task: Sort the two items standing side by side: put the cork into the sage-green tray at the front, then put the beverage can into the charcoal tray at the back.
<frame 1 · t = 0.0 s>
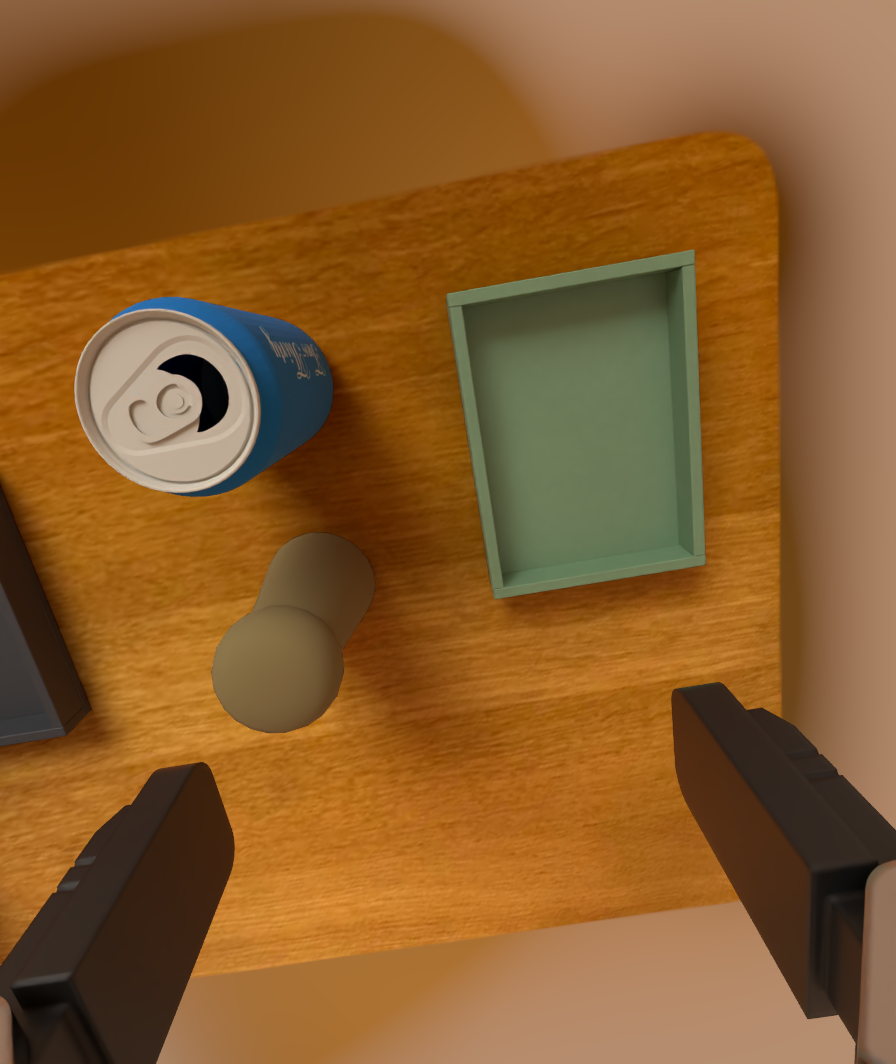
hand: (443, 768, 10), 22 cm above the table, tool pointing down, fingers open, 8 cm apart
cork: (322, 581, 33), on the table
beverage can: (273, 385, 29), on the table
green tray: (574, 433, 30), on the table
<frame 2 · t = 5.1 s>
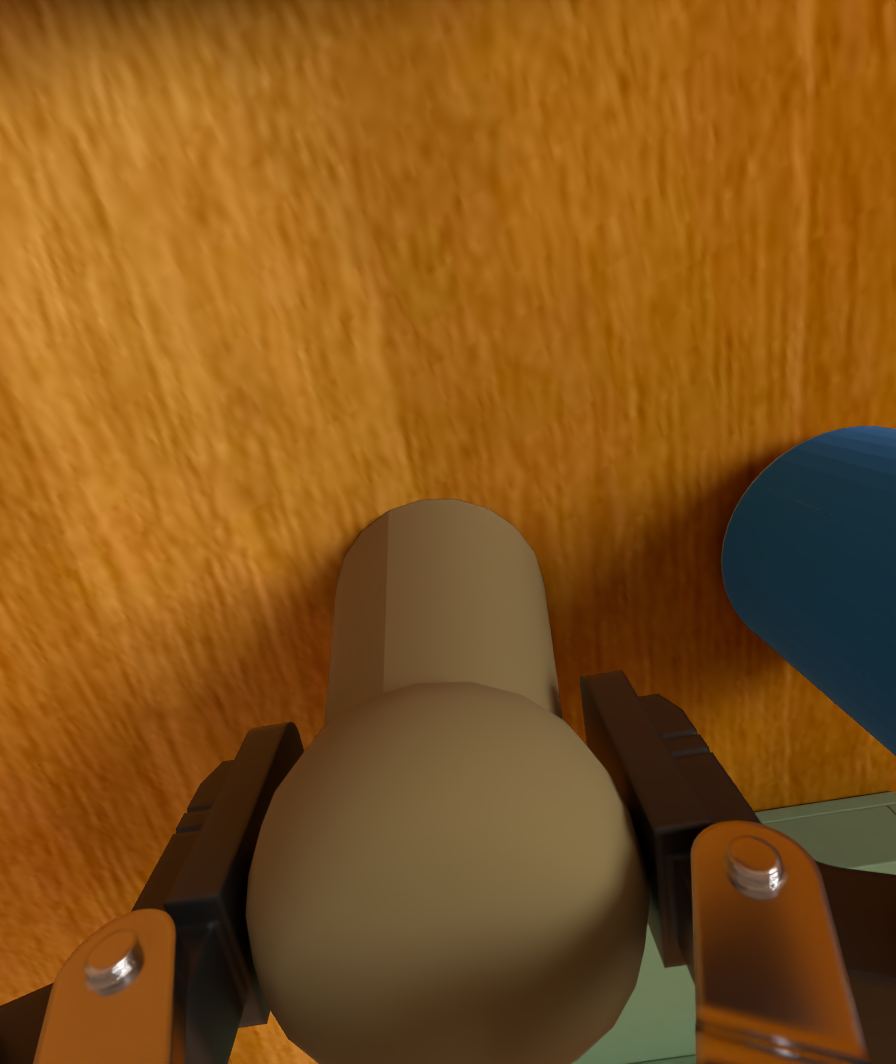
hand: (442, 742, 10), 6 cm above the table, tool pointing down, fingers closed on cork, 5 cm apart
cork: (440, 596, 17), on the table, touching gripper
beverage can: (817, 535, 17), on the table
green tray: (672, 946, 21), on the table
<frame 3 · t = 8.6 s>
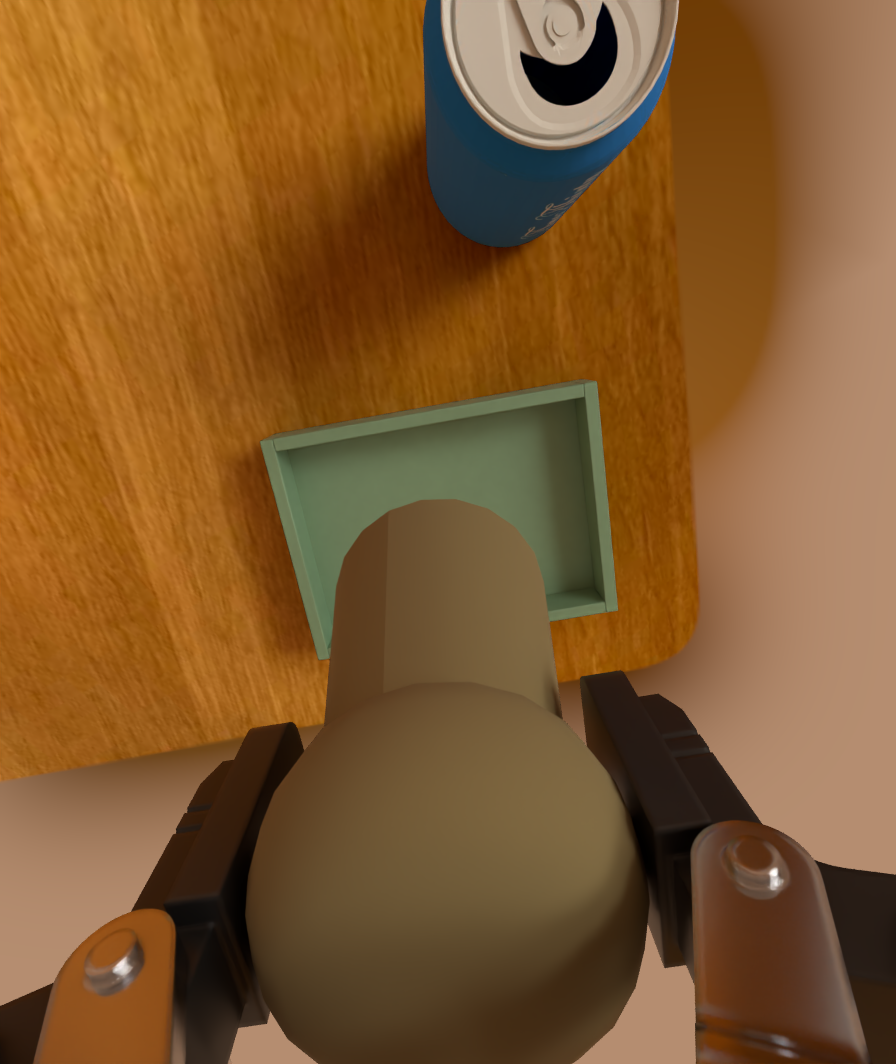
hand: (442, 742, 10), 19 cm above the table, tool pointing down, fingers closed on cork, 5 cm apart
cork: (440, 596, 17), point 13 cm above the table, touching gripper
beverage can: (501, 169, 25), on the table
green tray: (446, 516, 29), on the table
when the fingers open (7 cm above the table, at t = 11.9 s): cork stays where it is, resting on green tray.
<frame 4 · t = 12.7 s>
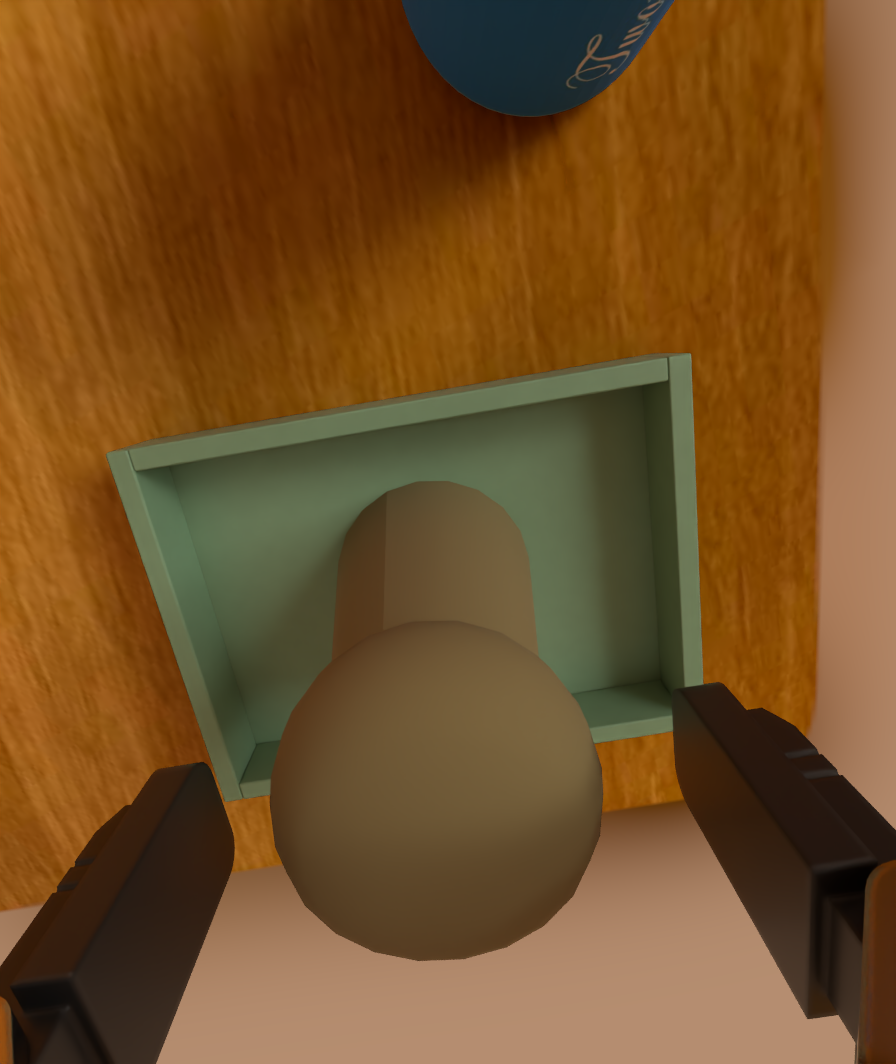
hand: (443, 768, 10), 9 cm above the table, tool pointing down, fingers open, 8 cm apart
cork: (434, 571, 18), resting on green tray
green tray: (432, 571, 19), on the table
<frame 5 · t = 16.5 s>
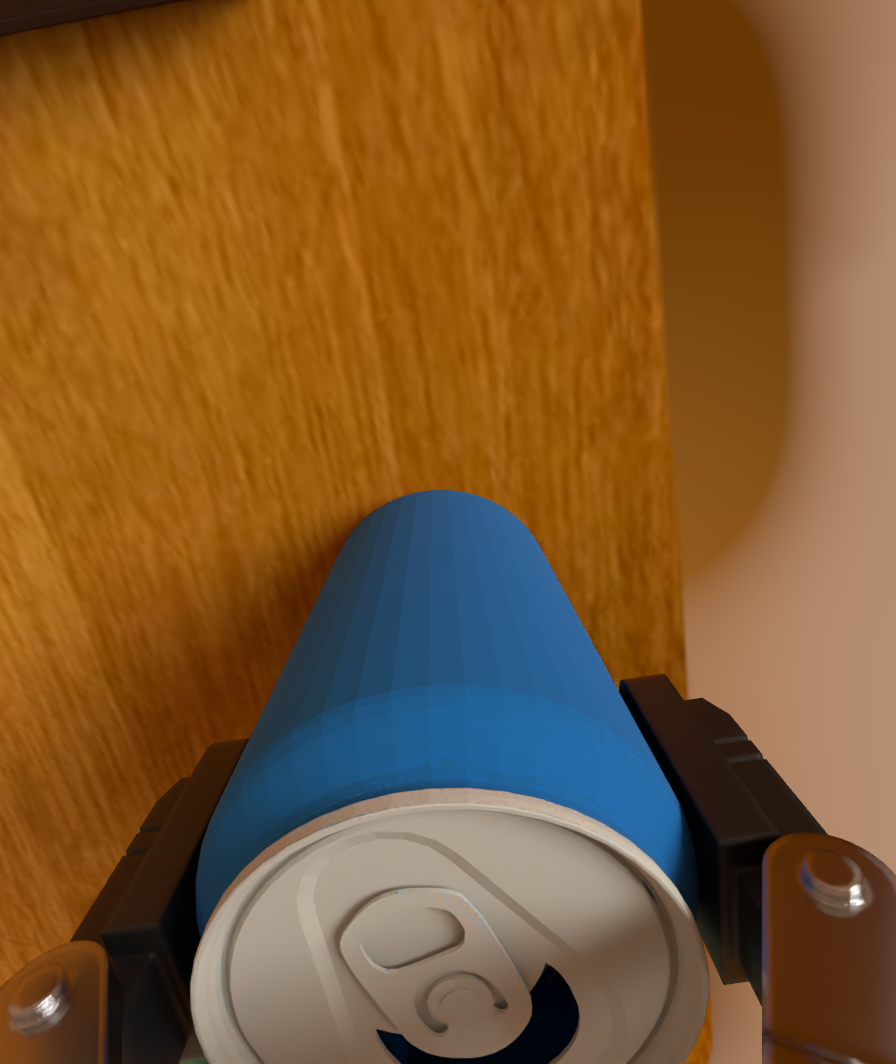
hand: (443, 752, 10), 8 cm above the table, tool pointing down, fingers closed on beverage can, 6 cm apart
beverage can: (441, 584, 18), on the table, touching gripper
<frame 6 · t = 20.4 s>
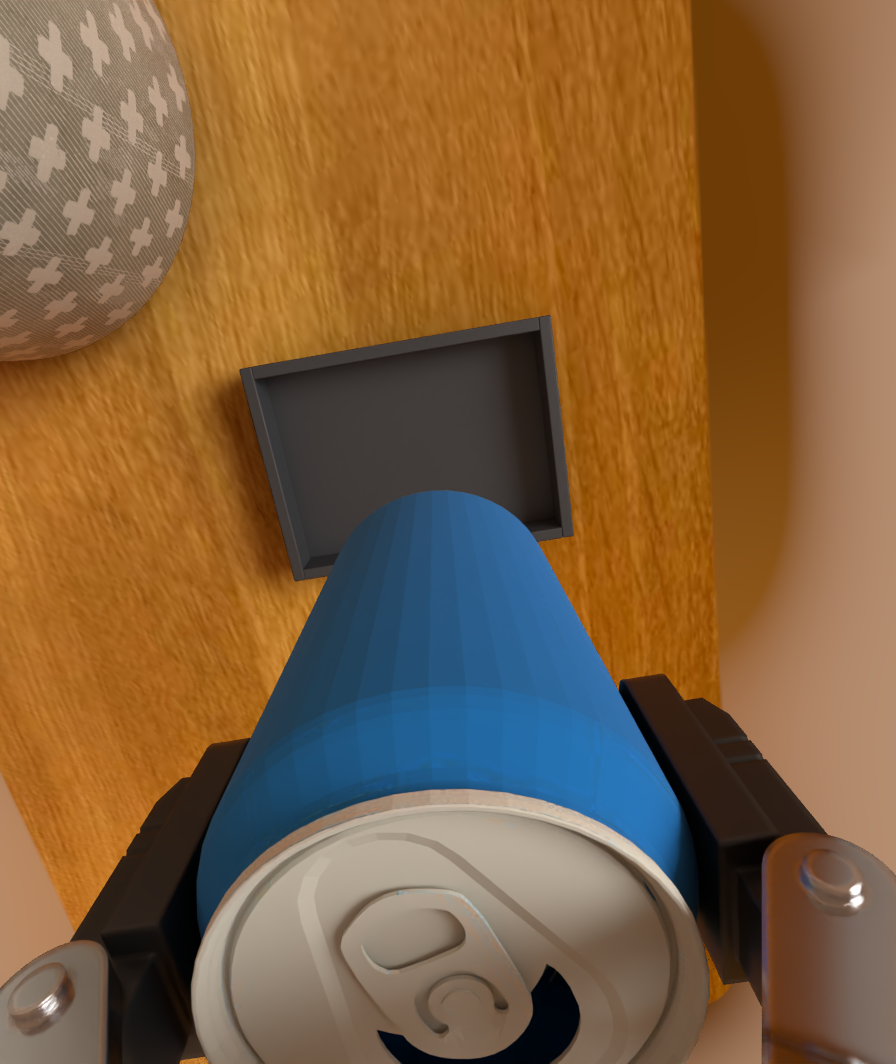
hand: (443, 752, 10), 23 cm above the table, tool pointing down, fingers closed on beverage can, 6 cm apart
charcoal tray: (416, 449, 32), on the table
beverage can: (441, 584, 18), point 15 cm above the table, touching gripper
planter: (18, 150, 27), on the table
when the fingers open (8 cm above the table, at t = 24.3 s): beverage can stays where it is, resting on charcoal tray.
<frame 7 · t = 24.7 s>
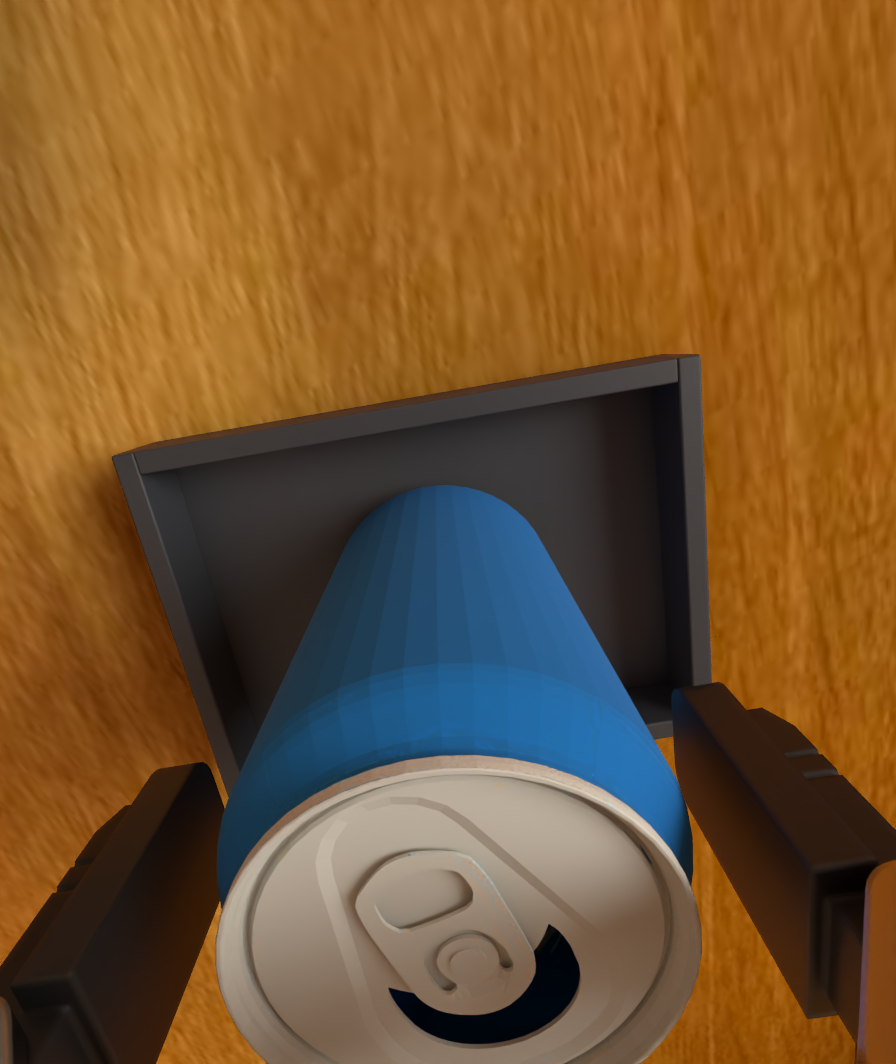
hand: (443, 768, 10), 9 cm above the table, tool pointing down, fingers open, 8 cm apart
charcoal tray: (438, 573, 19), on the table
beverage can: (443, 577, 18), resting on charcoal tray
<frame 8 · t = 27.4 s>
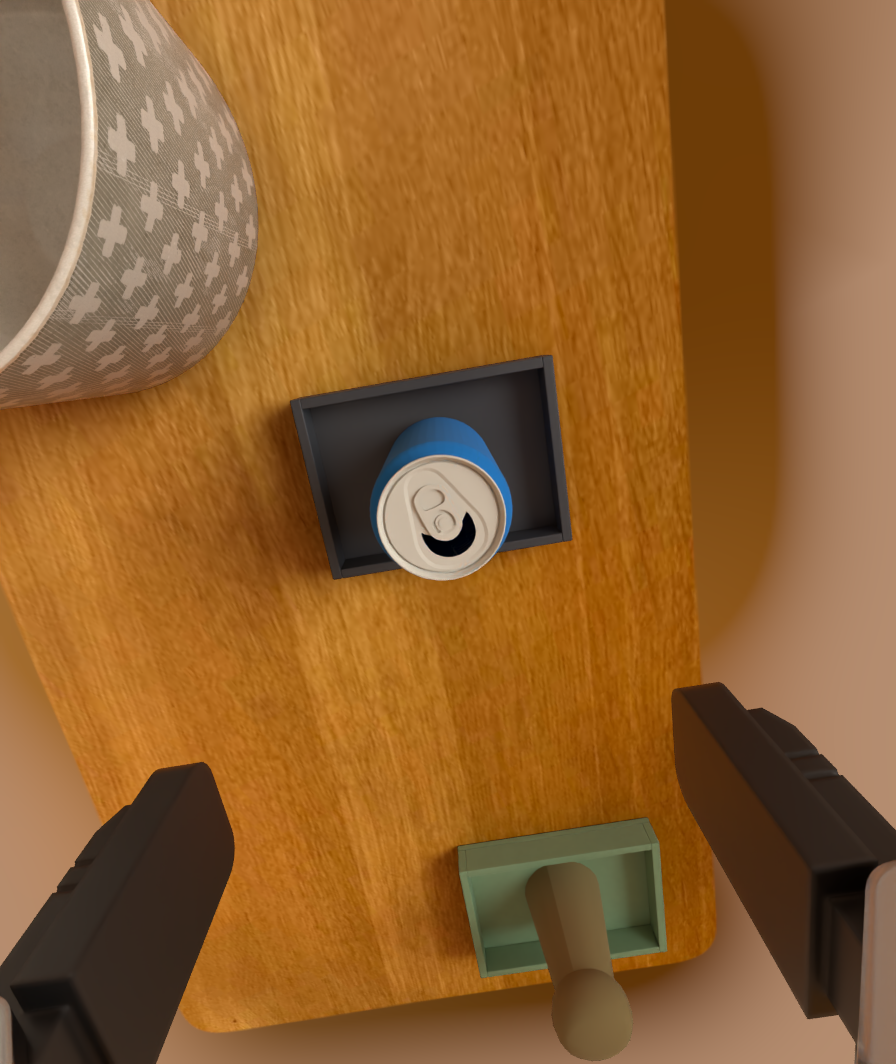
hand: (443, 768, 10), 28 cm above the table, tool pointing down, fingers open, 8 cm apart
charcoal tray: (436, 465, 37), on the table
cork: (561, 887, 47), resting on green tray
beverage can: (439, 467, 36), resting on charcoal tray
green tray: (559, 885, 47), on the table
planter: (104, 218, 32), on the table
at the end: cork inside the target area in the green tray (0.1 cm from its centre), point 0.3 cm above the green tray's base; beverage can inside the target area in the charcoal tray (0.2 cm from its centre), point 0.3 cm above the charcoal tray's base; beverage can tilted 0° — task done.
